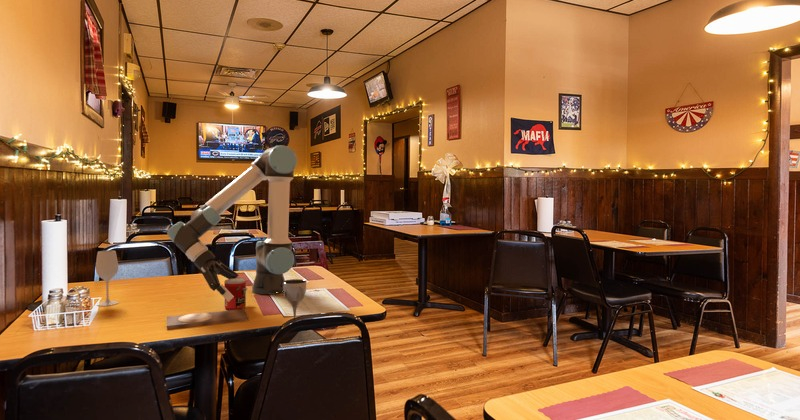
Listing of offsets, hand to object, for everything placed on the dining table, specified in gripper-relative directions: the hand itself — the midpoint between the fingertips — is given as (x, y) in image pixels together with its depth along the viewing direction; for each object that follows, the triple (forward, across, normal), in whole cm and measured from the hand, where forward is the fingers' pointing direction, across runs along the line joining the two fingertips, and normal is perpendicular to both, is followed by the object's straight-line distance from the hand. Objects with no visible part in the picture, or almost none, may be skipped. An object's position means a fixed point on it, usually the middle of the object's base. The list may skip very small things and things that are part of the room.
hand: (238, 295), depth 185 cm
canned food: (+3, 0, -5) cm, 6 cm away
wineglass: (-34, 0, -42) cm, 54 cm away
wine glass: (+23, +18, +16) cm, 33 cm away
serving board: (+1, +17, -7) cm, 18 cm away
